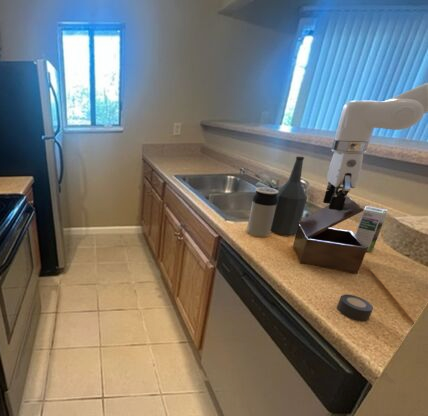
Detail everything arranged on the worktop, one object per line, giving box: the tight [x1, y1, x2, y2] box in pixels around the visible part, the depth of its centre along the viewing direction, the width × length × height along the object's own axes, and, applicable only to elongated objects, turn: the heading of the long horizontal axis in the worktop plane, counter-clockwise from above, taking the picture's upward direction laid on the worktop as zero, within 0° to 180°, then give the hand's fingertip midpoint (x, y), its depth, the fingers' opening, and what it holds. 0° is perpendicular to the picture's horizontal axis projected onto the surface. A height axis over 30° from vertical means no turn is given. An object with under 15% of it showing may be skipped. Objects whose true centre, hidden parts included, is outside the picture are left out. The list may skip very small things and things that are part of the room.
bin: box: [292, 224, 367, 275], centre depth 89 cm, size 15×13×9 cm
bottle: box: [270, 155, 308, 237], centre depth 105 cm, size 10×10×30 cm
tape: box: [336, 294, 374, 322], centre depth 67 cm, size 6×6×3 cm
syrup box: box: [354, 205, 389, 253], centre depth 95 cm, size 6×6×14 cm
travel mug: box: [246, 186, 279, 238], centre depth 105 cm, size 8×8×18 cm
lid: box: [299, 194, 364, 239], centre depth 86 cm, size 15×13×5 cm
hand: (332, 205), depth 84 cm, fingers closed on lid, 5 cm apart
